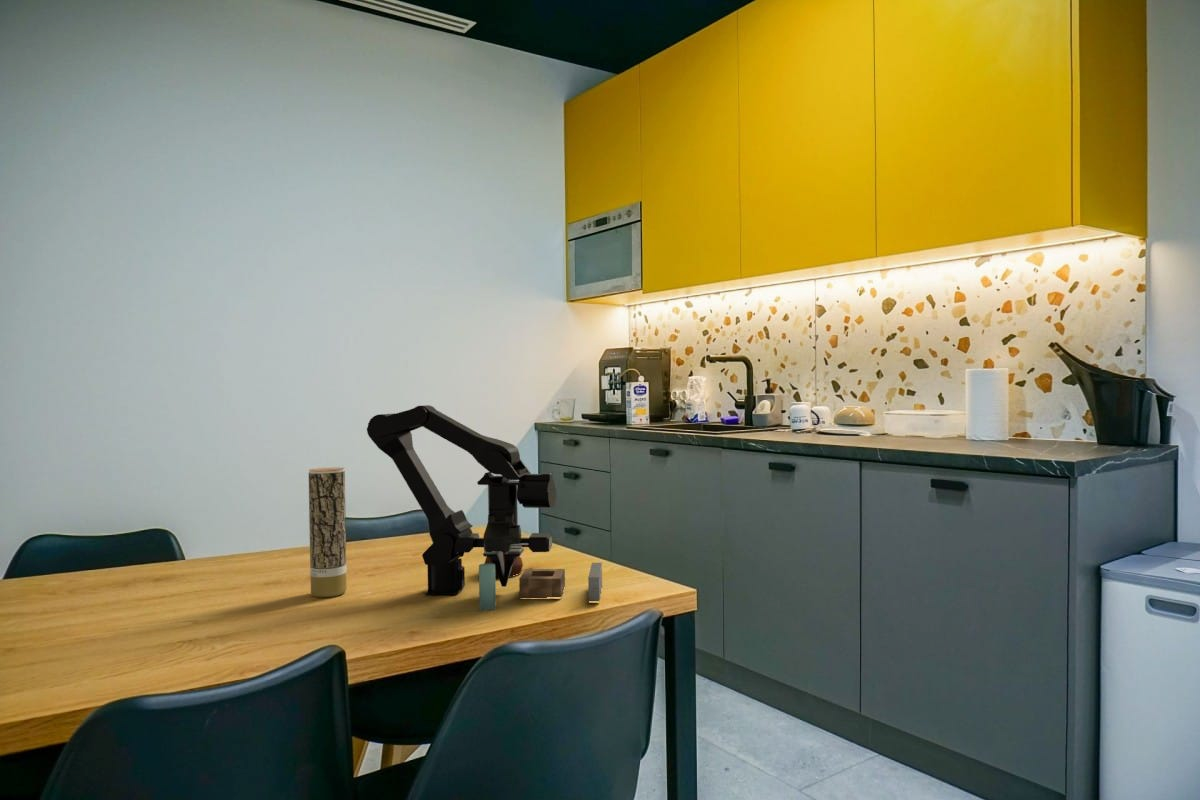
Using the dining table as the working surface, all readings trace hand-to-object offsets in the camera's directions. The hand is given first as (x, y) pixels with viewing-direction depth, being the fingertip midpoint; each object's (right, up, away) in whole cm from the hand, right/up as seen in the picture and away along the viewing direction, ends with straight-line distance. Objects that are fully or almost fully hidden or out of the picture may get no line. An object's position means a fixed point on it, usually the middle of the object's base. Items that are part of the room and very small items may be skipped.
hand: (504, 586), depth 151 cm
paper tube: (-35, -2, +2) cm, 35 cm away
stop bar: (+18, -1, -2) cm, 18 cm away
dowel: (-2, -2, -10) cm, 10 cm away
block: (+8, -1, 0) cm, 8 cm away
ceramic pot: (-2, -2, +17) cm, 17 cm away
